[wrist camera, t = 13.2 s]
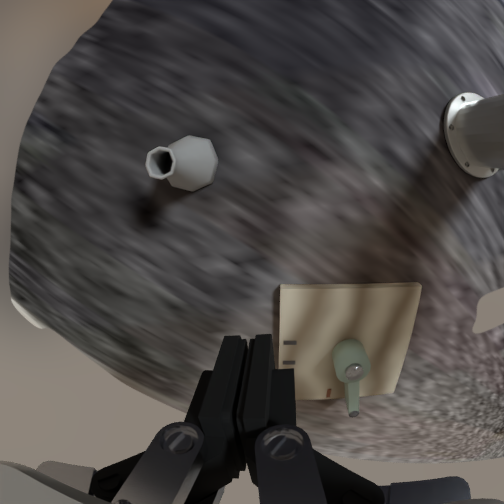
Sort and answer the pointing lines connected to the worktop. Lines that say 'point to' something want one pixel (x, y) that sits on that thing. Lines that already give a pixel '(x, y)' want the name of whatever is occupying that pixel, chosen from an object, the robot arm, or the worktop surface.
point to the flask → (184, 163)
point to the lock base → (345, 333)
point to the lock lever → (351, 370)
